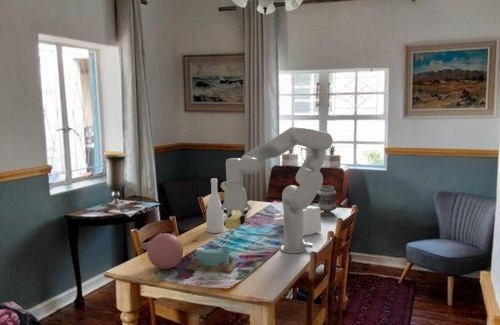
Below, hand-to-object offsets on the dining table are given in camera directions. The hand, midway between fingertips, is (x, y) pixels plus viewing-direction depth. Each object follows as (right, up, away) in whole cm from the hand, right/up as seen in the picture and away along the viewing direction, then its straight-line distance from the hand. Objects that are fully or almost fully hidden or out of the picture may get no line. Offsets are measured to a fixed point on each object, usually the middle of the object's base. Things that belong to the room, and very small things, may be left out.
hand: (236, 223), depth 208 cm
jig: (-10, -18, -10) cm, 23 cm away
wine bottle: (-13, -11, +44) cm, 47 cm away
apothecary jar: (+55, -5, +77) cm, 95 cm away
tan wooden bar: (0, -1, 0) cm, 1 cm away
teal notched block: (-10, -17, -10) cm, 22 cm away
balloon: (-33, -18, -10) cm, 39 cm away
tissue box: (+32, -10, +45) cm, 56 cm away
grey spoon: (-6, -8, +62) cm, 63 cm away
